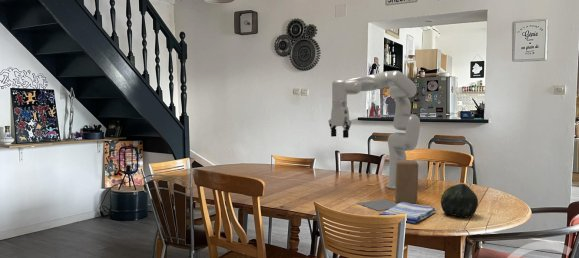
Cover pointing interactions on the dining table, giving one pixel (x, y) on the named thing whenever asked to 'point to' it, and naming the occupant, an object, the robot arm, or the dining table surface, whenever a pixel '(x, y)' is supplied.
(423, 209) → the dish towel
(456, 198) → the squash
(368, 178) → the dining table surface
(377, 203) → the mat
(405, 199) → the wooden block
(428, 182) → the dining table surface
